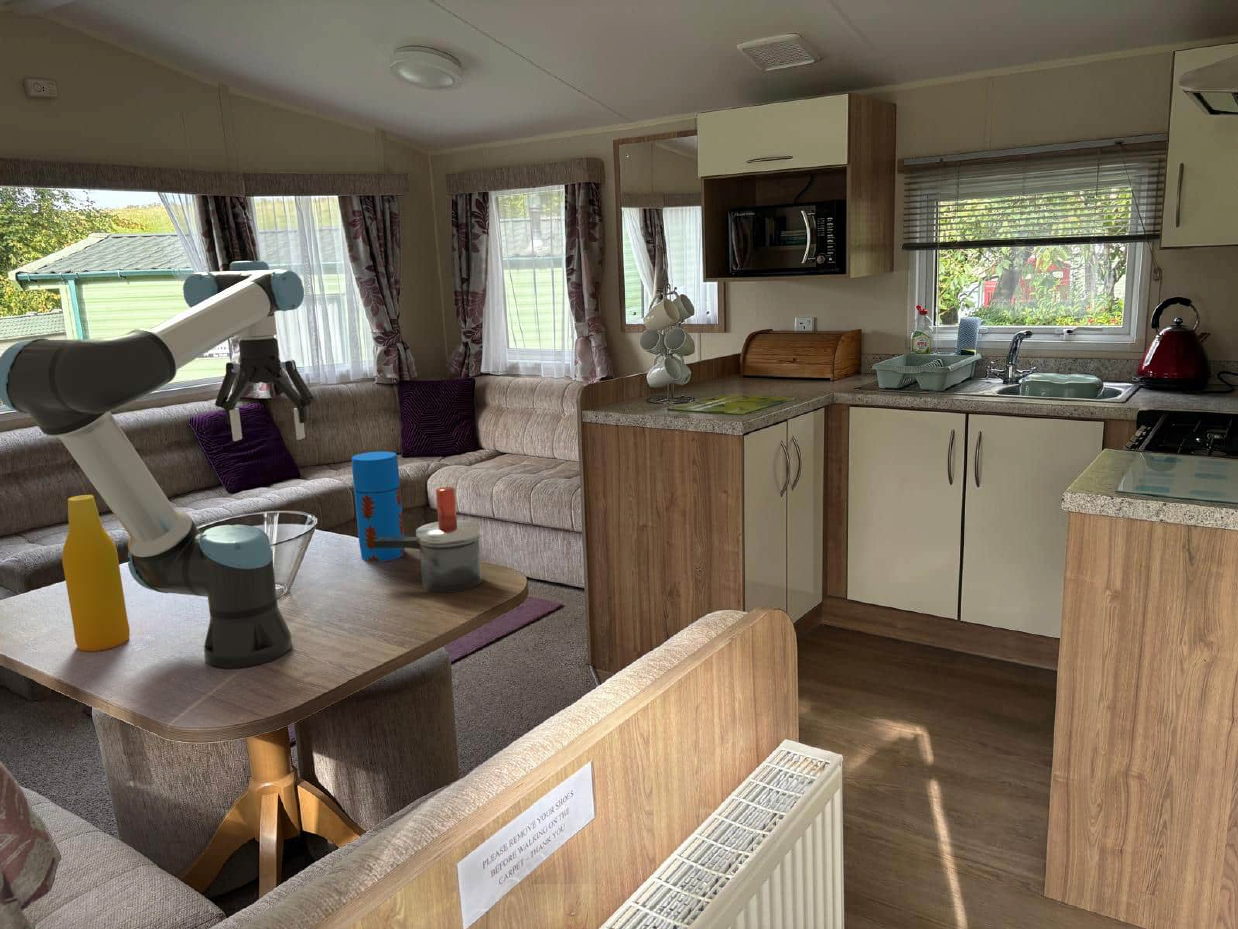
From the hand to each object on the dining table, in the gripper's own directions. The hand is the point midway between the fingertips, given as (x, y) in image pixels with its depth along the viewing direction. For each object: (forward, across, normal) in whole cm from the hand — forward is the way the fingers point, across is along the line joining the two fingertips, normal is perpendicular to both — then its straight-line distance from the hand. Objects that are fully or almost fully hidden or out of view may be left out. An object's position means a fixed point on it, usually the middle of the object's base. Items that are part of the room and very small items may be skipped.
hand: (269, 439), depth 195 cm
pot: (+35, -30, -7) cm, 46 cm away
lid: (+24, -35, -7) cm, 43 cm away
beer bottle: (+35, +26, +25) cm, 50 cm away
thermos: (+35, -13, -28) cm, 47 cm away
